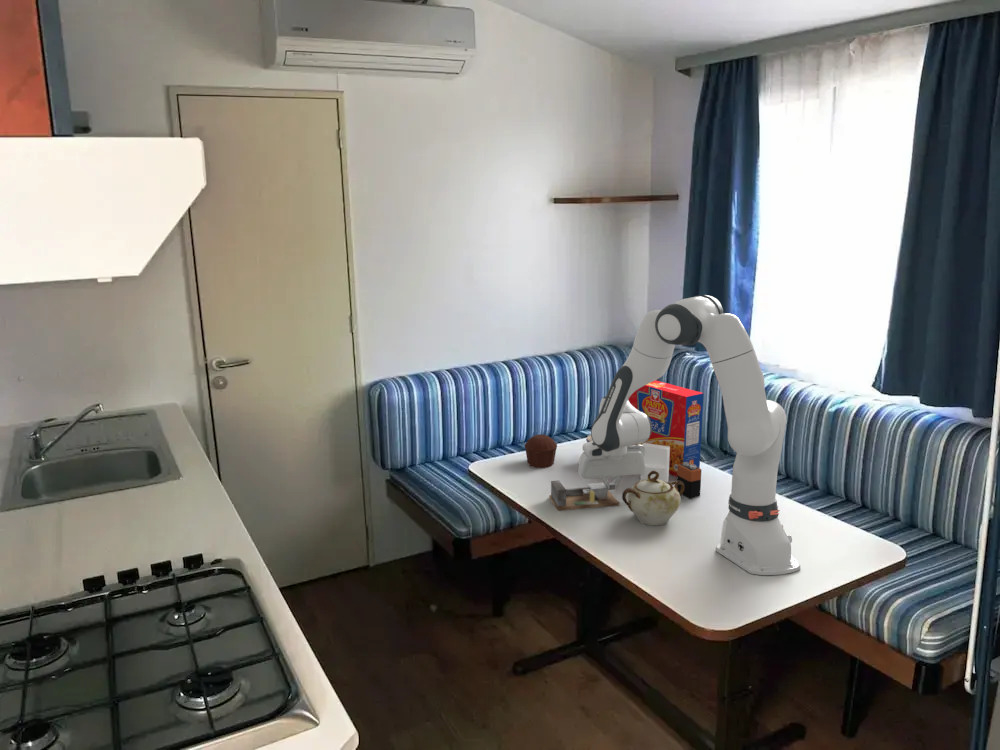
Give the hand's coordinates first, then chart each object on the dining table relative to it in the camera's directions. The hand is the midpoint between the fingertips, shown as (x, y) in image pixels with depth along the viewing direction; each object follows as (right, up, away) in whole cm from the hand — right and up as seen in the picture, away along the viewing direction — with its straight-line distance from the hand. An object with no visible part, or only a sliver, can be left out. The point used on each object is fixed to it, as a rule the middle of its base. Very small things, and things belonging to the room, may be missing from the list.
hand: (611, 489), depth 247 cm
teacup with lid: (+1, +4, +31) cm, 32 cm away
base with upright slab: (+16, 0, +16) cm, 22 cm away
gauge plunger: (-5, -3, -2) cm, 6 cm away
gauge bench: (-9, -4, -1) cm, 9 cm away
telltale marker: (-6, -3, -5) cm, 9 cm away
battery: (+24, -2, +4) cm, 25 cm away
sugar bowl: (+10, -7, -14) cm, 19 cm away
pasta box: (+21, +4, +30) cm, 37 cm away
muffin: (-20, +4, +32) cm, 38 cm away
